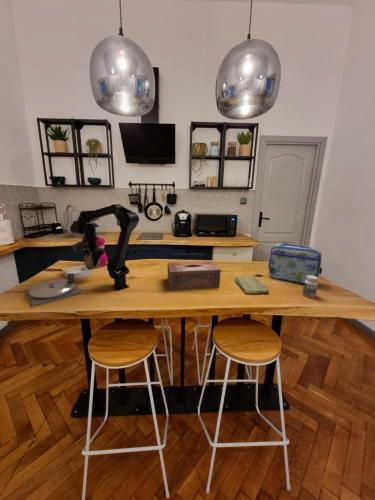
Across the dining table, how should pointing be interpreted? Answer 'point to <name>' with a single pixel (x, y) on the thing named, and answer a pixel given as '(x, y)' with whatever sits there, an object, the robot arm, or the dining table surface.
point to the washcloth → (251, 285)
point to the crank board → (43, 301)
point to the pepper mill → (100, 245)
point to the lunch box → (294, 262)
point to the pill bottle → (310, 286)
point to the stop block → (91, 263)
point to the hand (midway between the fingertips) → (92, 264)
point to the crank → (53, 288)
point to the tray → (77, 271)
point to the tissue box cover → (193, 275)
